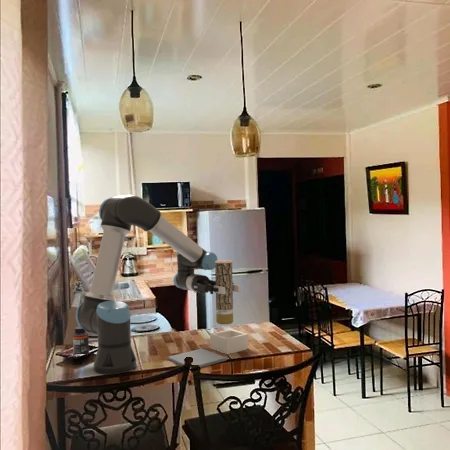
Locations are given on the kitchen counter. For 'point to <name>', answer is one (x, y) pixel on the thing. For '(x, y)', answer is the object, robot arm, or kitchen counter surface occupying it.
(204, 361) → the mat
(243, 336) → the box
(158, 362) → the kitchen counter surface
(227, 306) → the bark pattern cylinder
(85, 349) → the supplement bottle
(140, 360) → the kitchen counter surface
